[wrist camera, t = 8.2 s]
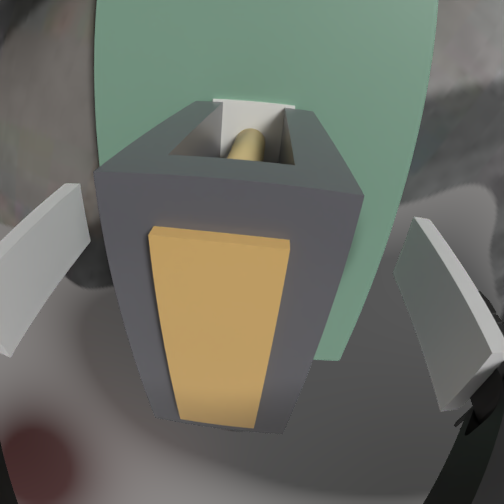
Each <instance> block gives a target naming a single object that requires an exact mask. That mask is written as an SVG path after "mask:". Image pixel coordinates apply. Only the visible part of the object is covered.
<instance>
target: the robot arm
mask: <svg viewBox="0 0 504 504" xmlns="http://www.w3.org/2000/svg"><path fill="white" fill-rule="evenodd" d="M90 242H91V240H90V236H89V231H88V226H87V221H86V216H85V210H84V205H83V199H82V193H81V187H80V184H74V183H65V184H64V185H63V186H62V187H60V188H59V189H58V190H57V191H55V192H54V193H53V194H52V195H51V196H49V197H48V198H47V199H46V200H45V201H43V202H42V203H41V204H40V205H39V206H38V207H37V208H35V209H34V210H33V211H32V212H31V213H30V214H29V215H28V216H26V217H25V218H24V219H23V220H22V221H21V222H20V223H19V224H18V225H17V226H16V227H15V228H14V229H13V230H11V231H10V232H9V233H8V234H7V235H6V236H5V237H4V238H3V239H2V240H1V241H0V354H3V355H5V356H7V357H11V356H12V355H13V353H14V351H15V349H16V348H17V346H18V344H19V343H20V341H21V340H22V338H23V336H24V335H25V333H26V332H27V330H28V328H29V327H30V325H31V324H32V322H33V320H34V319H35V318H36V316H37V314H38V313H39V311H40V310H41V308H42V307H43V305H44V304H45V302H46V301H47V300H48V298H49V297H50V295H51V294H52V292H53V291H54V290H55V288H56V287H57V285H58V284H59V283H60V281H61V280H62V278H63V277H64V276H65V274H66V273H67V272H68V270H69V269H70V268H71V266H72V265H73V264H74V262H75V261H76V260H77V258H78V257H79V256H80V254H81V253H82V252H83V251H84V249H85V248H86V247H87V245H88V244H89V243H90ZM393 275H394V278H395V280H396V282H397V285H398V287H399V290H400V292H401V295H402V297H403V300H404V303H405V305H406V308H407V310H408V313H409V315H410V318H411V321H412V324H413V326H414V329H415V332H416V335H417V338H418V341H419V343H420V346H421V349H422V352H423V355H424V358H425V361H426V365H427V368H428V371H429V374H430V377H431V381H432V384H433V387H434V391H435V394H436V398H437V401H438V405H439V408H440V412H442V411H449V410H455V409H460V408H461V407H462V406H463V405H464V404H465V403H466V402H467V401H468V400H469V399H471V402H472V405H473V406H472V407H471V408H470V409H469V410H468V411H467V412H466V413H465V414H464V415H463V416H462V417H461V418H460V419H458V420H457V422H456V423H455V424H454V426H455V427H456V426H458V425H459V424H460V423H461V422H462V421H464V422H463V424H462V427H461V428H460V432H459V434H458V436H457V439H456V441H455V443H454V445H453V448H452V450H451V452H450V454H449V456H448V458H447V460H446V462H445V465H444V466H443V469H442V470H441V472H440V474H439V476H438V478H437V480H436V482H435V484H434V486H433V487H432V489H431V491H430V493H429V495H428V496H427V498H426V500H425V501H424V503H423V504H504V326H503V324H501V320H500V318H499V316H498V315H496V311H495V309H494V308H493V306H492V305H491V303H490V301H489V300H488V299H487V298H486V297H485V296H484V295H483V294H482V293H481V292H480V291H478V290H477V288H476V287H475V285H474V284H473V282H472V280H471V279H470V277H469V275H468V274H467V273H466V271H465V269H464V268H463V266H462V265H461V263H460V262H459V260H458V259H457V257H456V256H455V254H454V253H453V251H452V250H451V248H450V247H449V245H448V244H447V243H446V241H445V240H444V238H443V237H442V235H441V234H440V233H439V231H438V230H437V229H436V227H435V226H434V225H433V223H432V222H431V220H430V219H425V218H419V217H413V220H412V223H411V226H410V229H409V231H408V234H407V237H406V240H405V243H404V245H403V248H402V251H401V253H400V256H399V258H398V261H397V264H396V266H395V269H394V271H393ZM0 504H18V502H17V500H16V497H15V494H14V491H13V488H12V484H11V481H10V478H9V474H8V471H7V467H6V464H5V460H4V456H3V452H2V448H1V443H0Z"/></svg>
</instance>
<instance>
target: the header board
mask: <svg viewBox="0 0 504 504" xmlns="http://www.w3.org/2000/svg"><path fill="white" fill-rule="evenodd" d="M437 12H438V0H97V5H96V20H95V43H94V90H95V115H96V130H97V143H98V154H99V164H100V166H101V165H103V164H104V163H105V162H106V161H108V160H109V159H110V158H112V157H113V156H114V155H116V154H117V153H118V152H120V151H121V150H122V149H124V148H125V147H126V146H128V145H129V144H131V143H132V142H133V141H135V140H136V139H138V138H139V137H141V136H142V135H143V134H145V133H146V132H148V131H149V130H151V129H152V128H154V127H155V126H157V125H158V124H160V123H161V122H163V121H164V120H166V119H167V118H169V117H171V116H172V115H174V114H175V113H177V112H178V111H180V110H182V109H183V108H185V107H186V106H188V105H190V104H191V103H193V102H195V101H211V102H223V113H222V131H221V150H220V158H228V159H240V160H250V161H261V162H270V163H278V162H279V154H280V146H281V137H282V129H283V120H284V112H285V108H293V109H300V110H307V111H313V112H314V113H315V115H316V116H317V118H318V119H319V121H320V123H321V124H322V126H323V127H324V129H325V130H326V132H327V133H328V135H329V136H330V138H331V140H332V141H333V143H334V144H335V146H336V148H337V149H338V151H339V153H340V154H341V156H342V157H343V159H344V161H345V162H346V164H347V166H348V167H349V169H350V171H351V173H352V174H353V176H354V178H355V179H356V181H357V183H358V185H359V186H360V188H361V190H362V192H363V194H364V195H365V196H364V200H363V204H362V208H361V212H360V215H359V219H358V223H357V226H356V230H355V234H354V237H353V241H352V244H351V248H350V251H349V254H348V258H347V261H346V264H345V268H344V271H343V274H342V277H341V281H340V284H339V287H338V290H337V293H336V296H335V299H334V302H333V305H332V308H331V311H330V314H329V317H328V320H327V323H326V326H325V329H324V331H323V334H322V337H321V340H320V343H319V345H318V348H317V351H316V353H315V356H314V359H313V360H334V361H339V360H340V358H341V356H342V354H343V351H344V349H345V347H346V345H347V342H348V340H349V338H350V336H351V333H352V331H353V329H354V326H355V324H356V322H357V320H358V317H359V314H360V312H361V310H362V308H363V305H364V303H365V300H366V297H367V295H368V292H369V290H370V287H371V285H372V282H373V280H374V277H375V274H376V272H377V269H378V266H379V263H380V260H381V258H382V255H383V252H384V249H385V247H386V244H387V241H388V238H389V235H390V232H391V229H392V225H393V222H394V219H395V216H396V213H397V209H398V207H399V203H400V200H401V197H402V193H403V190H404V186H405V183H406V179H407V175H408V172H409V168H410V164H411V160H412V156H413V152H414V148H415V144H416V140H417V136H418V131H419V127H420V122H421V118H422V113H423V108H424V103H425V98H426V93H427V87H428V81H429V75H430V69H431V63H432V56H433V48H434V41H435V32H436V23H437Z"/></svg>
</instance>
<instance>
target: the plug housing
mask: <svg viewBox="0 0 504 504" xmlns="http://www.w3.org/2000/svg"><path fill="white" fill-rule="evenodd" d="M222 113H223V102H211V101H195V102H193V103H191V104H190V105H188V106H186V107H185V108H183V109H182V110H180V111H178V112H177V113H175V114H174V115H172V116H171V117H169V118H167V119H166V120H164V121H163V122H161V123H160V124H158V125H157V126H155V127H154V128H152V129H151V130H149V131H148V132H146V133H145V134H143V135H142V136H141V137H139V138H138V139H136V140H135V141H133V142H132V143H131V144H129V145H128V146H126V147H125V148H124V149H122V150H121V151H120V152H118V153H117V154H116V155H114V156H113V157H112V158H110V159H109V160H108V161H106V162H105V163H104V164H103V165H101V166H100V167H99V168H97V169H96V170H95V171H94V172H93V173H94V181H95V189H96V196H97V202H98V209H99V215H100V221H101V227H102V232H103V237H104V243H105V248H106V253H107V257H108V262H109V267H110V271H111V276H112V280H113V284H114V288H115V292H116V296H117V300H118V304H119V308H120V312H121V316H122V319H123V323H124V326H125V330H126V333H127V336H128V340H129V343H130V347H131V350H132V353H133V356H134V359H135V362H136V366H137V369H138V372H139V374H140V377H141V380H142V383H143V386H144V389H145V391H146V394H147V397H148V400H149V402H150V405H151V408H152V411H153V413H154V416H155V418H160V419H165V420H170V421H175V422H181V423H187V424H193V425H199V426H206V427H213V428H221V429H229V430H238V431H249V432H260V433H275V434H283V432H284V430H285V428H286V425H287V423H288V421H289V418H290V416H291V414H292V411H293V409H294V407H295V404H296V402H297V399H298V397H299V395H300V392H301V390H302V387H303V384H304V382H305V380H306V377H307V374H308V372H309V369H310V367H311V364H312V361H313V359H314V356H315V353H316V351H317V348H318V345H319V343H320V340H321V337H322V334H323V331H324V329H325V326H326V323H327V320H328V317H329V314H330V311H331V308H332V305H333V302H334V299H335V296H336V293H337V290H338V287H339V284H340V281H341V277H342V274H343V271H344V268H345V264H346V261H347V258H348V254H349V251H350V248H351V244H352V241H353V237H354V234H355V230H356V226H357V223H358V219H359V215H360V212H361V208H362V204H363V200H364V196H365V195H364V194H363V192H362V190H361V188H360V186H359V185H358V183H357V181H356V179H355V178H354V176H353V174H352V173H351V171H350V169H349V167H348V166H347V164H346V162H345V161H344V159H343V157H342V156H341V154H340V153H339V151H338V149H337V148H336V146H335V144H334V143H333V141H332V140H331V138H330V136H329V135H328V133H327V132H326V130H325V129H324V127H323V126H322V124H321V123H320V121H319V119H318V118H317V116H316V115H315V113H314V112H313V111H307V110H300V109H293V108H285V112H284V120H283V129H282V137H281V146H280V154H279V162H278V163H270V162H261V161H250V160H240V159H228V158H220V150H221V131H222Z"/></svg>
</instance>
